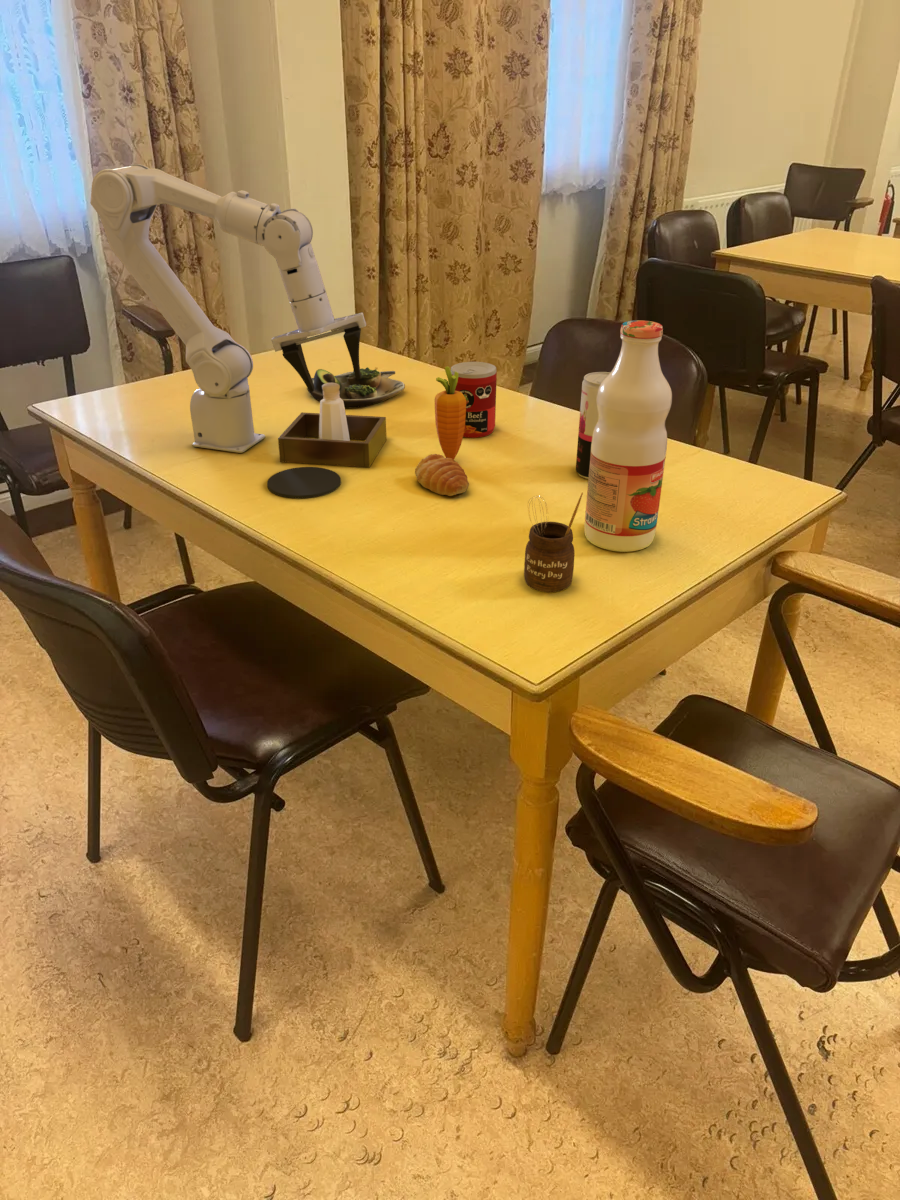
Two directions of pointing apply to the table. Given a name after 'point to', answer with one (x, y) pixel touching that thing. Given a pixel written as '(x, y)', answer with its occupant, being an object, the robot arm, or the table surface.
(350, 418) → the rectangular frame
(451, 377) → the carrot
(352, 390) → the salad plate
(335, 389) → the salt shaker
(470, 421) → the canned food
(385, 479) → the table surface
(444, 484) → the pastry
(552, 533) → the utensil holder
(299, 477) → the mat
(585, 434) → the beverage can
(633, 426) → the fruit juice
